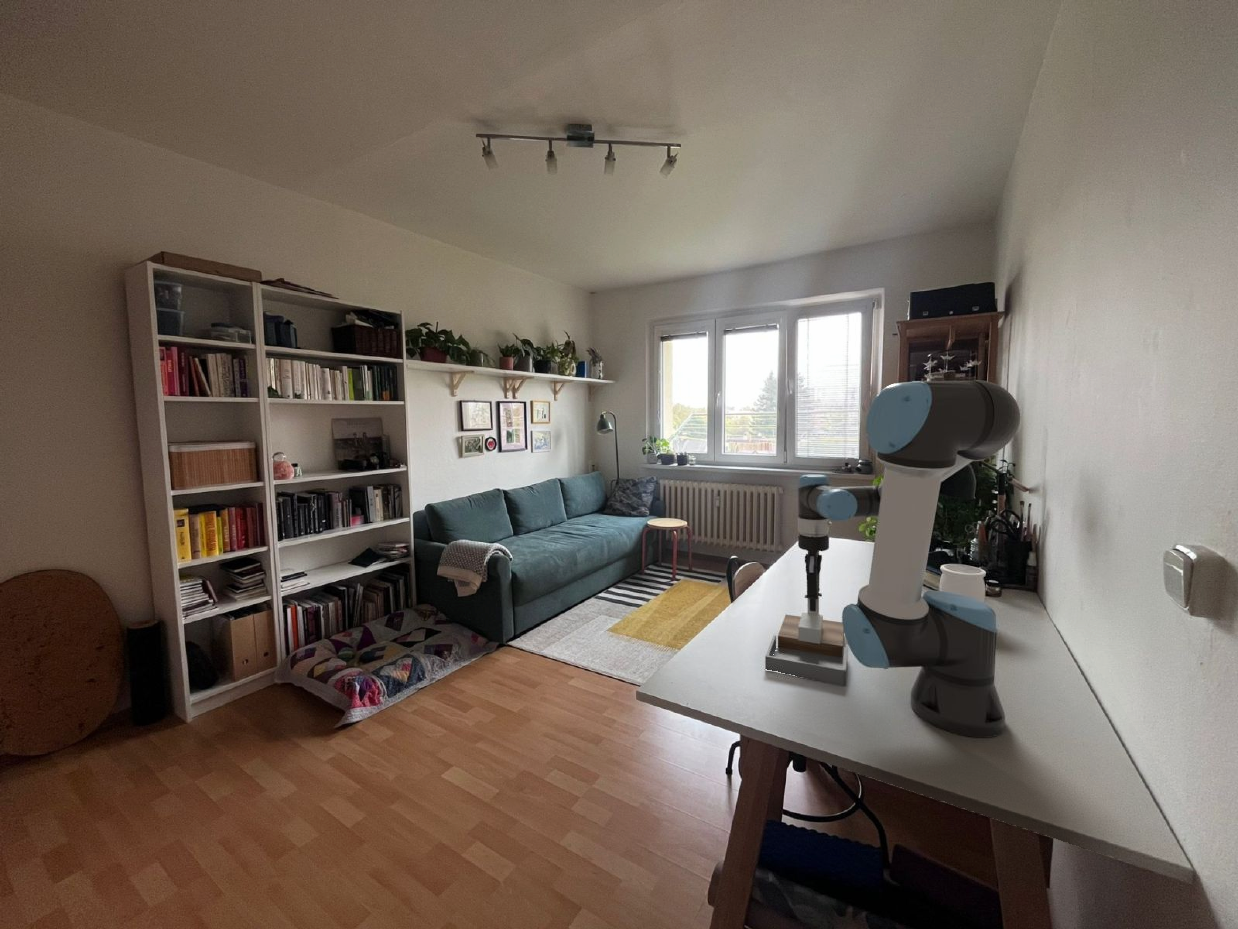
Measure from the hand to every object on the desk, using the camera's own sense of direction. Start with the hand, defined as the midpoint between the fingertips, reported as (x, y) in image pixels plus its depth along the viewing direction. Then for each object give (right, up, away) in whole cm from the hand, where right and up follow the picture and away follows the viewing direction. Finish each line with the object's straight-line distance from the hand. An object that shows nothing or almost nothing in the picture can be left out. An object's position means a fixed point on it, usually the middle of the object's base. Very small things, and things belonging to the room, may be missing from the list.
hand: (813, 621), depth 129 cm
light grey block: (-4, -2, -7) cm, 8 cm away
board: (-1, -5, -2) cm, 5 cm away
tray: (-7, -6, -14) cm, 17 cm away
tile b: (-1, -2, -3) cm, 3 cm away
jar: (+46, -3, +10) cm, 47 cm away
